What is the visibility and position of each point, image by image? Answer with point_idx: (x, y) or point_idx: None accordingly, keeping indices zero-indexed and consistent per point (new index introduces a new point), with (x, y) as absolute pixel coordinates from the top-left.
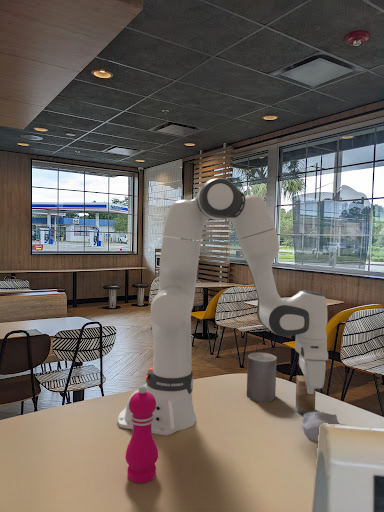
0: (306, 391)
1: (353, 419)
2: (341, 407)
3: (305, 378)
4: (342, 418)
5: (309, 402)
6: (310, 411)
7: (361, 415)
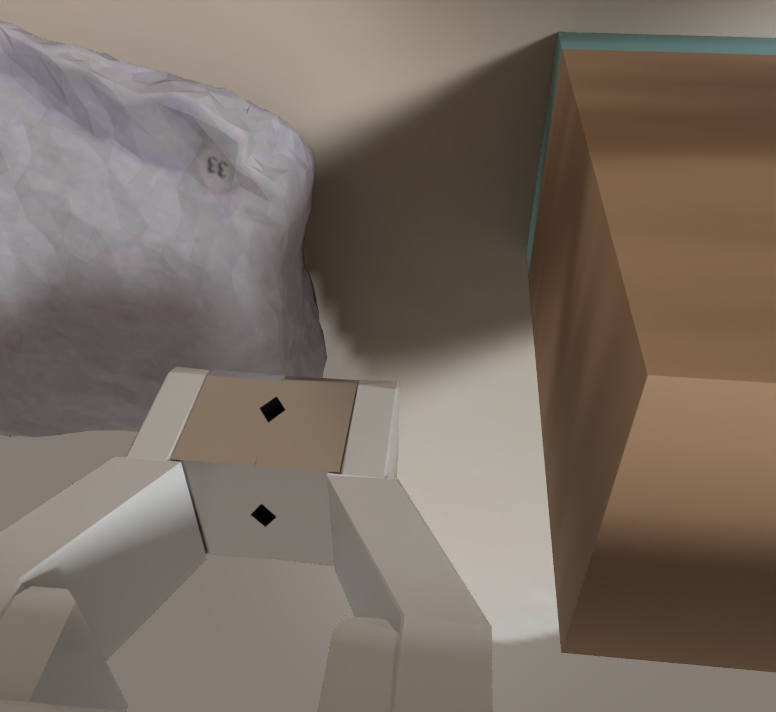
0: (571, 353)
1: (436, 522)
2: None
3: (401, 613)
4: (445, 462)
5: (545, 278)
6: (537, 220)
7: (520, 584)
